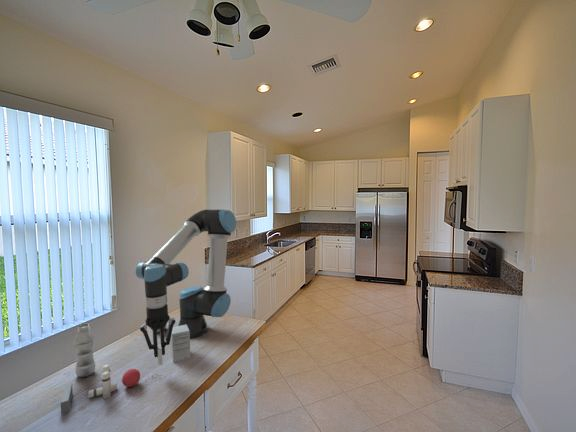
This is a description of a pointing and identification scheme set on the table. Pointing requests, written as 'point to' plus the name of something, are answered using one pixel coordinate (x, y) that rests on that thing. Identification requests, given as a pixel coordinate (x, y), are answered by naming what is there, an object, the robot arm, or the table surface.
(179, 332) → the supplement box
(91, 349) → the plastic bottle
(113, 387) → the front pin
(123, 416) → the table surface
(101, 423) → the table surface
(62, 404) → the back wall
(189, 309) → the robot arm
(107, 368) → the pin
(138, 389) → the table surface
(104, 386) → the pin
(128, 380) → the ball
